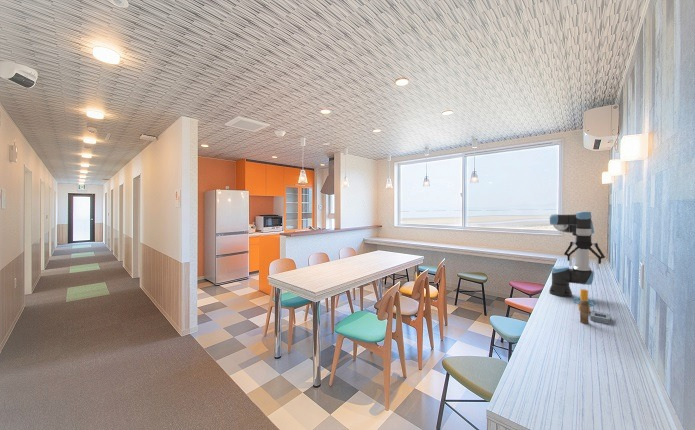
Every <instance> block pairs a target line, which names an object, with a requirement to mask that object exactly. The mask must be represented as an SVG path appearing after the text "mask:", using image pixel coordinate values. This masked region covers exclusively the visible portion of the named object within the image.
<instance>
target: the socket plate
mask: <svg viewBox="0 0 695 430" xmlns="http://www.w3.org/2000/svg"><path fill="white" fill-rule="evenodd" d="M590 321H592V322H597V323H601V324H606V323H608V324H607V325H610V324H611V313H607V312H601V311H596V310H591V312H590Z"/></svg>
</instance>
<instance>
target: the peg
mask: <svg viewBox="0 0 695 430" xmlns="http://www.w3.org/2000/svg"><path fill="white" fill-rule="evenodd" d="M589 303H590V302H589ZM589 303H588V301H586V300H580V310H579V312H580V314H579V315H580V316H579V318H580V319H579V321H580V323H581V324H584V325H588V324H589V322H590V321H589V316H590V315H589V313H590V312H589V306H590V305H589Z"/></svg>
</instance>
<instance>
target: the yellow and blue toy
mask: <svg viewBox="0 0 695 430" xmlns="http://www.w3.org/2000/svg"><path fill="white" fill-rule="evenodd" d="M579 291H580V296H578V297H574V298H573V299H572V302H573V303H575V305H576V304H577V305H578V310H579V311H580V300H586V301H588V303H589V313H591V311H590V310H591V307H592V306H593V307H594V306H596V301H595V299H589V290H588V289H586V288H585V289H584V288H580V290H579ZM575 300H577V302H576V301H575ZM591 301H592V302H593V303H592V302H591Z"/></svg>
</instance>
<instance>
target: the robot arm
mask: <svg viewBox="0 0 695 430" xmlns="http://www.w3.org/2000/svg"><path fill="white" fill-rule="evenodd" d="M549 224H550V225H553V227H554V229H555V230H557V231H560V232H562V233H569V234H572V236H573V237H574V241H570V242H569V246H568V247H567V249H566V250H565V251H564V253H563V255H564V256H567V261H569V266H565V265H558V266H557V265H556V266H553V267H552V268H551V285H550V287H549V291H548V293H549V294H551V295H553V294H554V296H557V297H568V298H569V297H572V296H573V292H572V288H571V287H570V284H576V285H578V284H579V285H585V286H586V285H588V286H591V285H592V284H593V281H594V275H595V272H594V270H593V269H592V267H590V252H591V253H592V254H593V255H594V256H595V257H597V258H596V270H599V268H600V266H599V265H601V263H602V259H605V258H606V256H605V254H604V252H603V251H602V250H601V248H600V246H599V243H598V242H595V243H593V242H592V236H593V234H595V230H594V223H593V220H592V212H591V211H576V214H575V213H574V214H571V213H570V214H569V213H568V214H558V213H555V214H550V215H549ZM573 246H574V248H573V250H571V249H572V247H573ZM593 247H595V249H596V250H597V252H596V251H595V250H594V249H593ZM570 250H571V251H570ZM598 253H599V254H598ZM573 254H574V265H573V266H572V264H573V262H572V260H573V259H572V255H573ZM570 267H572V268H570Z"/></svg>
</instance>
